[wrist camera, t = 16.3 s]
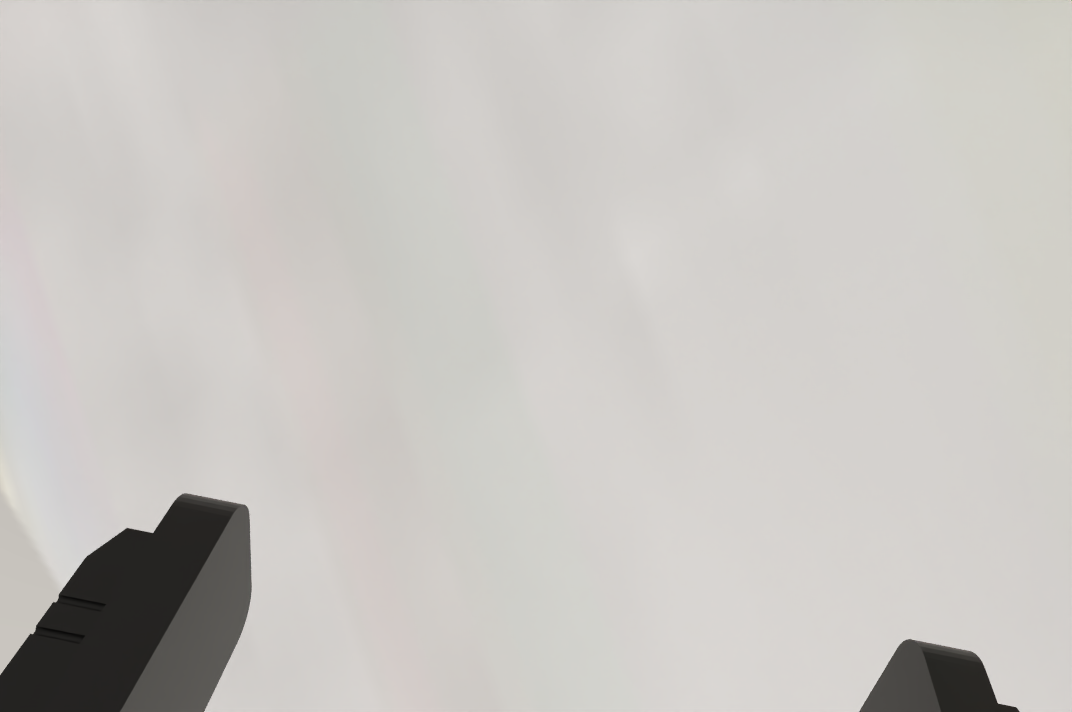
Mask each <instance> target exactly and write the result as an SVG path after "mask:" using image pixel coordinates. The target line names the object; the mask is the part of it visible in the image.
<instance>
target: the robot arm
mask: <svg viewBox="0 0 1072 712" xmlns="http://www.w3.org/2000/svg"><path fill="white" fill-rule="evenodd" d="M251 587H252V585H251V552H250V519H249V511H248V508H247V506H246V505H242V504H237V503H232V502H227V501H222V500H217V499H212V498H207V497H202V496H197V495H192V494H186V493H185V494H182V495H180V496H179V497H178V498H177V499H176V500H175V501H174V503H173V504H172V506H171V507H170V509H169V510H168V512H167V513H166V515H165V516H164V518H163V519H162V521H161V522H160V524H159V525H158V527H157V528H156V530H155V531H154V533H149V532H144V531H139V530H134V529H129V528H126V529H125V530H124V531H122V532H121V533H119V534H118V535H117V536H115V537H114V538H112V539H111V540H110V541H108V542H107V543H105V544H104V545H102V546H101V547H100V548H98V549H97V550H95V551H94V552H93V553H91V554H90V555H88V556H87V557H86V558H85V559H84V561H83V562H82V564H81V565H80V566H79V568H78V569H77V570H76V572H75V573H74V575H73V576H72V577H71V579H70V580H69V581H68V583H67V584H66V586H65V587H64V588H63V590H62V591H61V592H60V594H59V599H58V601H57V602H56V603H55V602H53V603H52V605H51V606H50V608H49V609H48V610H47V612H46V613H45V615H44V616H43V617H42V619H41V620H40V621H39V623H38V624H37V625H36V631H35V632H34V634H30V635H29V637H28V638H27V639H26V641H25V642H24V643H23V645H22V646H21V648H20V649H19V650H18V652H17V653H16V654H15V656H14V657H13V658H12V660H11V661H10V663H9V664H8V665H7V667H6V668H5V669H4V671H3V672H2V673H1V675H0V712H204V711H205V708H206V706H207V704H208V702H209V700H210V698H211V696H212V694H213V692H214V690H215V688H216V686H217V684H218V682H219V679H220V677H221V675H222V673H223V671H224V669H225V667H226V665H227V663H228V661H229V659H230V657H231V655H232V652H233V650H234V648H235V646H236V644H237V642H238V640H239V638H240V635H241V633H242V630H243V627H244V624H245V621H246V617H247V614H248V610H249V605H250V599H251ZM860 712H1019V710H1018V709H1017V708H1016V707H1012V706H1007V705H1002V704H998V703H997V700H996V697H995V695H994V692H993V689H992V686H991V684H990V681H989V678H988V676H987V673H986V670H985V668H984V665H983V663H982V661H981V660H980V658H979V657H978V656H977V655H976V654H975V653H973V652H971V651H966V650H961V649H956V648H951V647H946V646H941V645H936V644H931V643H926V642H921V641H916V640H911V639H909V640H905V641H903V642H902V643H901V644H900V645H899V647H898V648H897V650H896V652H895V653H894V655H893V656H892V658H891V660H890V661H889V663H888V665H887V666H886V668H885V670H884V671H883V673H882V675H881V676H880V678H879V680H878V681H877V683H876V685H875V686H874V688H873V690H872V691H871V693H870V695H869V696H868V698H867V700H866V701H865V703H864V705H863V706H862V708H861V710H860Z"/></svg>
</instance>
